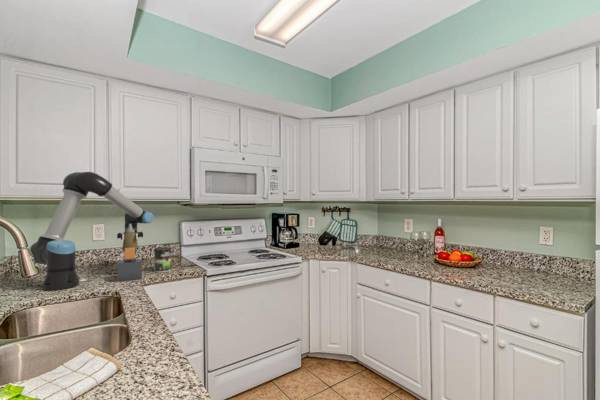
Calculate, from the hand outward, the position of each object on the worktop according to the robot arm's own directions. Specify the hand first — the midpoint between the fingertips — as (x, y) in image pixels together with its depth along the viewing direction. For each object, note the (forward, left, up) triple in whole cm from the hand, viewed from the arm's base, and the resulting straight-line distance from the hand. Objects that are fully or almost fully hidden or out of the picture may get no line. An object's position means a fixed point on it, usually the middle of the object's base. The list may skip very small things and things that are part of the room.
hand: (130, 236), depth 179 cm
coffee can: (+18, +5, -23) cm, 30 cm away
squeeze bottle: (0, +5, -11) cm, 12 cm away
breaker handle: (0, -6, -13) cm, 14 cm away
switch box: (0, -8, -23) cm, 24 cm away
